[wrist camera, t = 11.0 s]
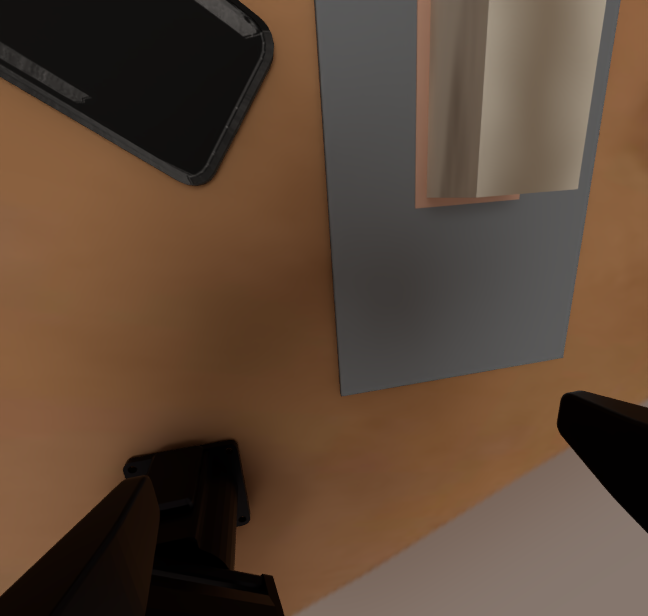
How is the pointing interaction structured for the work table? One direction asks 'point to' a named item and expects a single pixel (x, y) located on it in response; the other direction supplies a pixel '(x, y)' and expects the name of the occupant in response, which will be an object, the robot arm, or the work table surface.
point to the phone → (142, 72)
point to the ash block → (509, 94)
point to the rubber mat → (432, 217)
